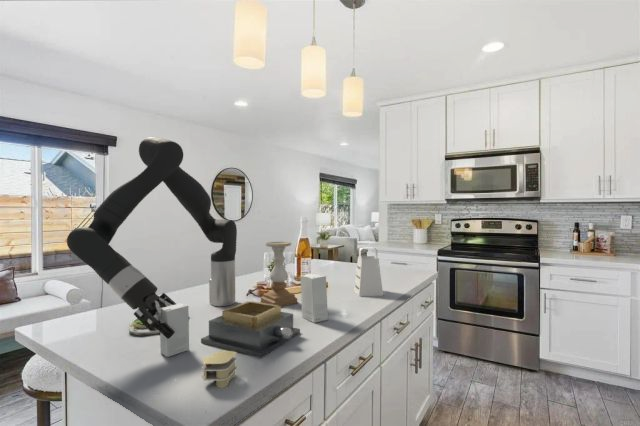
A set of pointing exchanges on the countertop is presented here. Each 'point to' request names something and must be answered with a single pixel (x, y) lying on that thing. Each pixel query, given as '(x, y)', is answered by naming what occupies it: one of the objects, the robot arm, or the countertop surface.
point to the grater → (368, 275)
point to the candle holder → (278, 278)
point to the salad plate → (138, 324)
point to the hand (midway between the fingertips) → (178, 329)
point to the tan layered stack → (219, 367)
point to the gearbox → (251, 329)
